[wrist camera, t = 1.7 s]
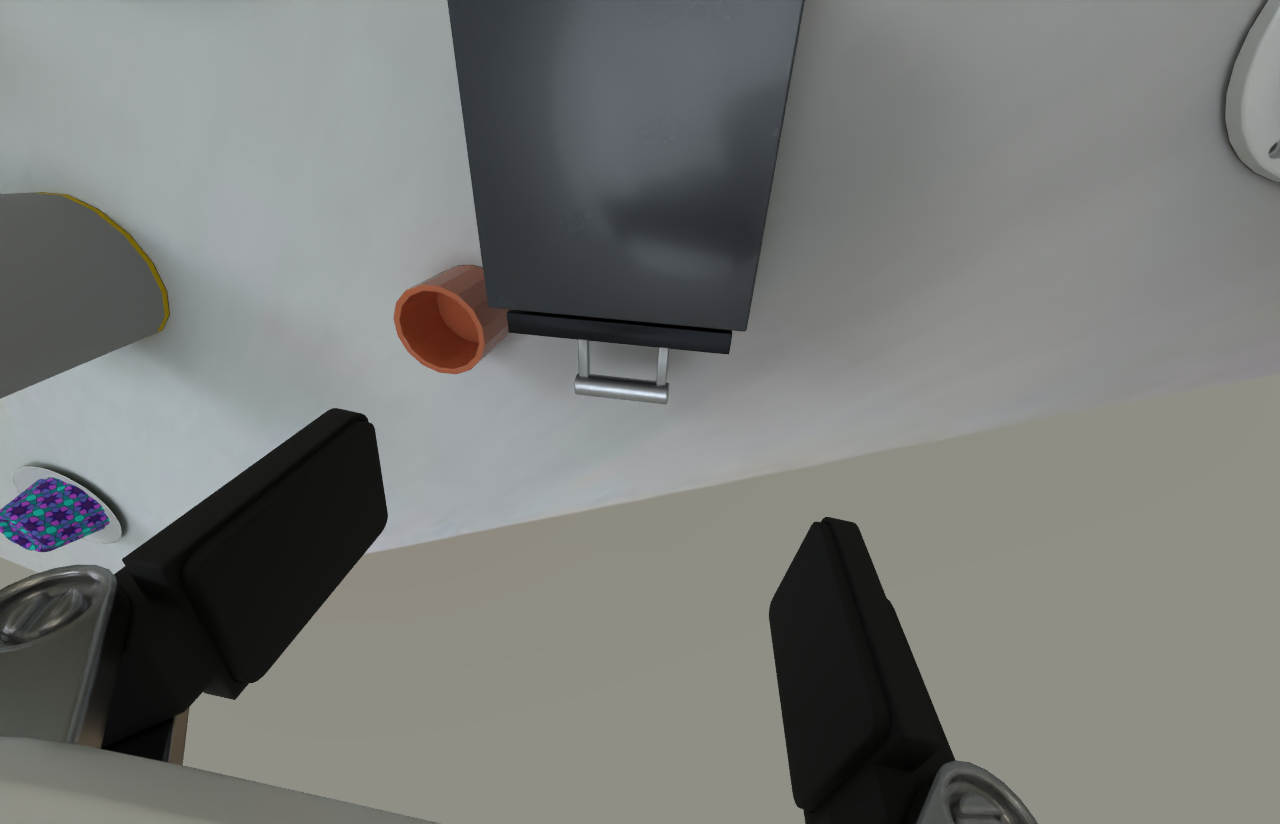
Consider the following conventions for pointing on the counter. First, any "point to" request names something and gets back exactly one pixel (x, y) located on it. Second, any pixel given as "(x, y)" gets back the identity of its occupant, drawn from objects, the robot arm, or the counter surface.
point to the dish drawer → (622, 334)
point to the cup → (450, 320)
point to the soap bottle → (68, 288)
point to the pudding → (55, 512)
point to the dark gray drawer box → (624, 151)
